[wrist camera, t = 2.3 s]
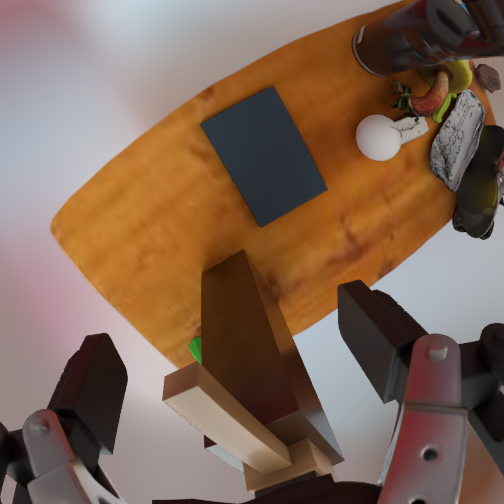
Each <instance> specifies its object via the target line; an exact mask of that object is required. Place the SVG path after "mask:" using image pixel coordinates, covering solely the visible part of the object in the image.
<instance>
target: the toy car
mask: <svg viewBox="0 0 504 504" xmlns="http://www.w3.org/2000/svg"><path fill="white" fill-rule="evenodd" d="M452 223H453V227H454V229H455V230H457V231H459V232H466V231H465V229H464V227H463V225H462V223H461V221H460V218H459V214H458V207H457V208H456V209H455V211H454V214H453V219H452ZM493 227H494V221H493V223H492V225H491V227H490V228H489V230H488V231H487V233H486V234H484V235H483V236H481V237H479V238H480V239H482V240H485V239H487V238H489V237H490V235H491V233H492V231H493Z"/></svg>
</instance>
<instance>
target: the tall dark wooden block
mask: <svg viewBox="0 0 504 504" xmlns="http://www.w3.org/2000/svg"><path fill="white" fill-rule="evenodd" d="M201 365H202V366H203V367H204V368H205V369H206V370H207V371H208V372H209V373H210V374H211V375H212V376H213V377H214V378H215V379H216V380H217V381H218V382H219V383H220V384H221V385H222V386H223V387H224V388H225V389H226V390H227V391H228V392H229V393H230V394H231V395H232V396H233V397H234V398H235V399H236V400H237V401H238V402H239V403H240V404H241V405H242V406H243V407H244V408H245V409H246V410H247V411H248V412H249V413H250V414H251V415H252V416H254V417H255V418H256V419H257V420H258V421H259V422H260V423H261V424H262V425H263V426H265V427H266V428H267V429H268V430H269V431H270V432H271V433H272V434H273V435H275V436H276V437H277V438H278V439H279V440H280V441H282V442H283V443H284V444H285V445H286V446H289V445H292V444H294V443H296V442H299V441H301V440H303V439H305V438H308V439H309V440H310V441H311V442H312V443H313V444H314V445H315V446H316V447H317V448H318V449H319V450H320V451H321V452H322V453H324V454H325V455H326V456H327V457H328V458H329V459H330V461H331V464H332V466H334V465H336V464H338V463H340V462H342V461H344V457H343V455H342V453H341V450H340V448H339V445H338V443H337V441H336V438H335V436H334V434H333V431H332V429H331V427H330V424H329V422H328V420H327V417H326V415H325V413H324V410H323V408H322V405H321V403H320V401H319V399H318V396H317V394H316V392H315V389H314V387H313V385H312V382H311V380H310V377H309V375H308V373H307V371H306V368H305V366H304V363H303V361H302V359H301V356H300V354H299V352H298V349H297V347H296V345H295V342H294V340H293V338H292V335H291V333H290V331H289V328H288V326H287V324H286V321H285V319H284V317H283V314H282V312H281V310H280V307H279V305H278V303H277V301H276V300H275V298H274V297H273V295H272V293H271V292H270V290H269V288H268V287H267V285H266V284H265V282H264V280H263V279H262V277H261V276H260V274H259V272H258V271H257V269H256V268H255V266H254V264H253V263H252V261H251V260H250V258H249V256H248V255H247V253H246V251H245V250H242V251H240V252H239V253H237V254H235V255H233V256H232V257H230V258H228V259H227V260H225V261H223V262H221V263H220V264H218V265H216V266H215V267H213V268H211V269H209V270H208V271H206V272H204V273H203V274H202V279H201ZM204 447H205V449H206V450H208V451H209V452H211V453H212V454H214V455H215V456H217V457H218V458H220V459H221V460H223V461H225V462H226V463H228V464H229V465H231V466H233V467H235V468H236V469H238V470H239V471H241V472H243V473H244V469H243V463H245V462H243V461H242V460H240V459H238V458H237V457H235V456H234V455H233V454H231V453H230V452H228V451H227V450H225V449H224V448H222V447H221V446H219V445H218V444H217V443H215V442H214V441H213V440H211V439H210V438H208V437H207V436H206V435H204Z"/></svg>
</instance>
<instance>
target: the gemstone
mask: <svg viewBox="0 0 504 504" xmlns="http://www.w3.org/2000/svg"><path fill="white" fill-rule="evenodd" d="M189 349H190V351H191V353H192V355H193V357H194V358H195V359H196V360H197V361H198V362H199V363H200V364H201V337H197V338H194V339H193V341H192V342H191V344H190V345H189Z"/></svg>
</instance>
